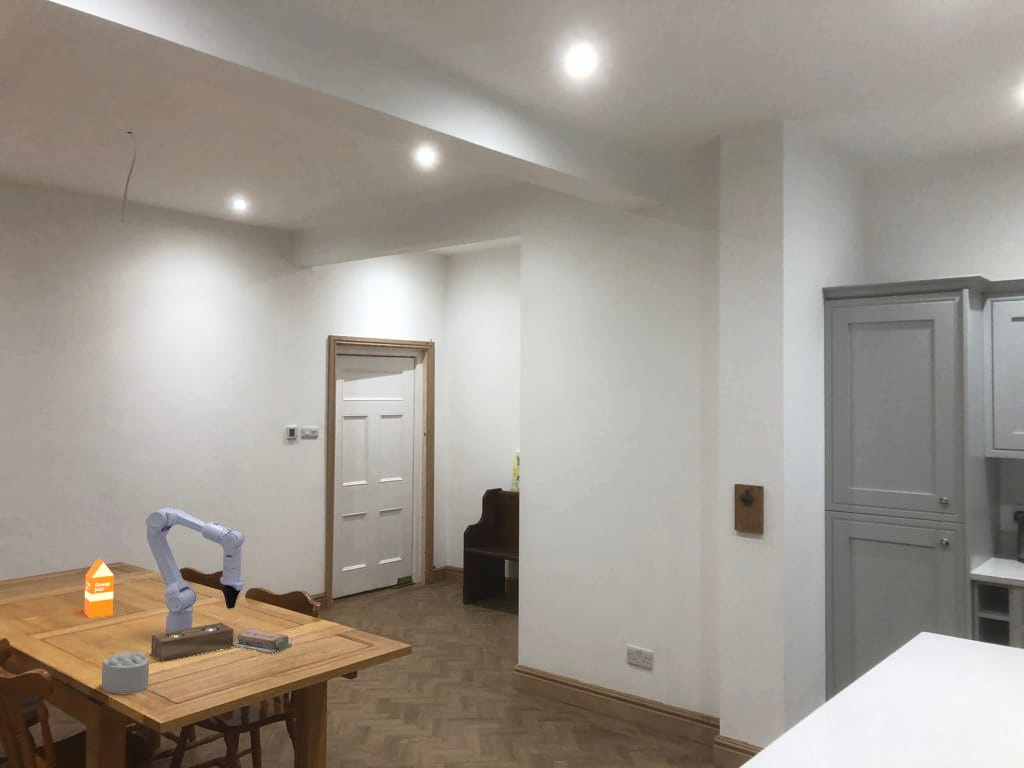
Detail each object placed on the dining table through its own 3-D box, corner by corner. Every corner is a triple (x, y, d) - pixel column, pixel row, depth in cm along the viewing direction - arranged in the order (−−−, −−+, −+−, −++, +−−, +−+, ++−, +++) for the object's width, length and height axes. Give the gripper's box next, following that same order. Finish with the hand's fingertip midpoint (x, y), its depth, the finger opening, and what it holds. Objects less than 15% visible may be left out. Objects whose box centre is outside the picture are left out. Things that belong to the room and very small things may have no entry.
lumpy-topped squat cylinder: (134, 676, 221) (135, 646, 221) (156, 687, 213) (158, 655, 213) (96, 686, 213) (97, 654, 213) (118, 697, 204) (119, 665, 205)
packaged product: (293, 632, 252) (272, 640, 243) (293, 647, 252) (271, 656, 243) (252, 624, 259) (229, 632, 250) (251, 639, 259) (229, 647, 250)
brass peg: (166, 653, 241) (167, 634, 241) (178, 651, 243) (179, 632, 244) (170, 656, 238) (171, 637, 238) (182, 654, 241) (183, 635, 241)
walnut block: (151, 654, 241) (151, 634, 241) (220, 640, 256) (221, 622, 256) (161, 662, 233) (162, 642, 234) (232, 648, 248) (233, 629, 248)
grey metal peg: (202, 646, 248) (202, 628, 248) (213, 644, 251) (213, 626, 251) (206, 649, 246) (207, 631, 246) (217, 647, 248) (218, 629, 248)
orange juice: (89, 618, 280) (91, 563, 281) (83, 613, 287) (85, 559, 287) (113, 614, 285) (115, 560, 286) (106, 609, 292) (108, 556, 293)
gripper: (252, 569, 256) (251, 610, 255) (234, 562, 266) (233, 601, 266) (231, 572, 251) (230, 613, 250) (214, 564, 262) (213, 605, 261)
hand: (230, 608), depth 258 cm, fingers closed
